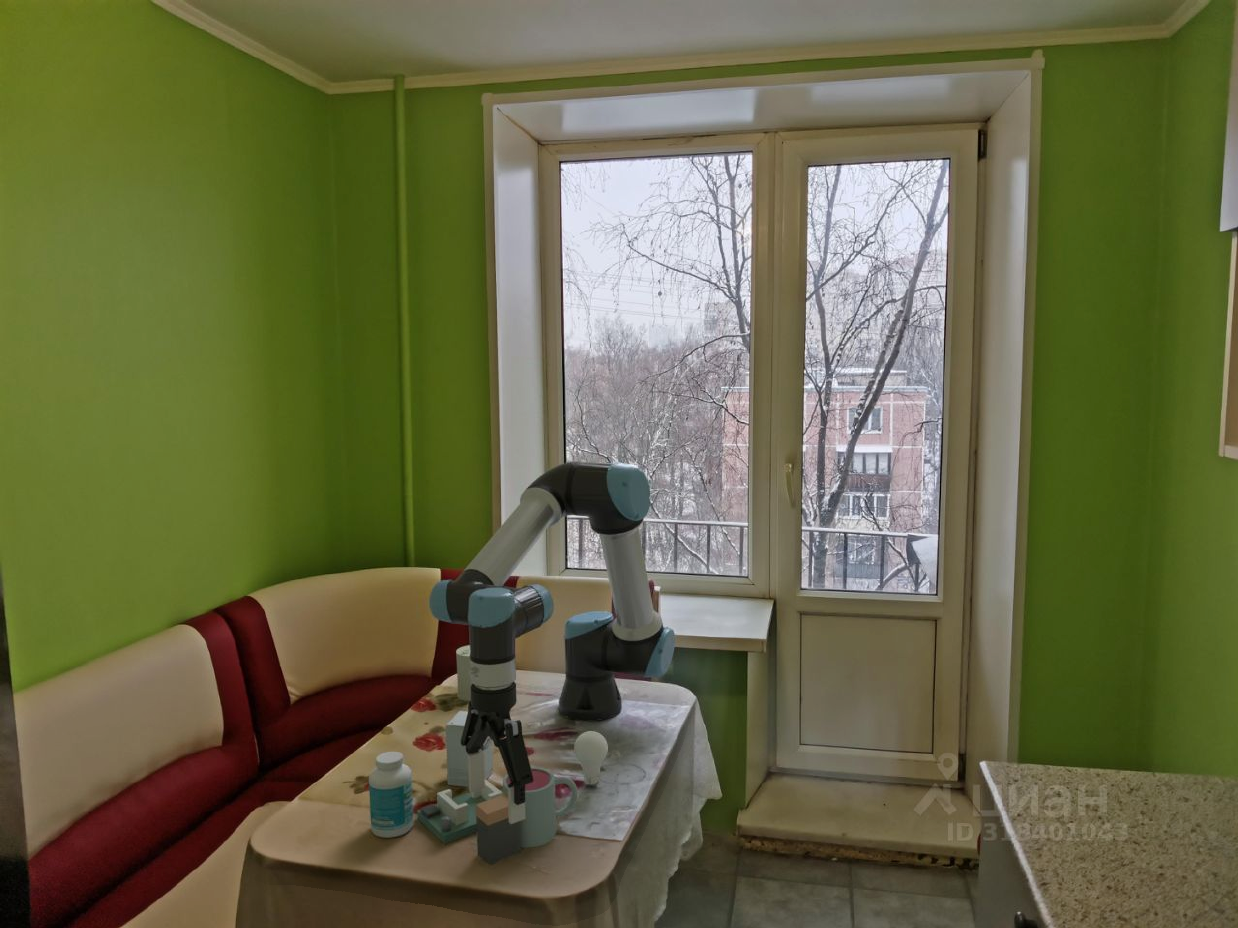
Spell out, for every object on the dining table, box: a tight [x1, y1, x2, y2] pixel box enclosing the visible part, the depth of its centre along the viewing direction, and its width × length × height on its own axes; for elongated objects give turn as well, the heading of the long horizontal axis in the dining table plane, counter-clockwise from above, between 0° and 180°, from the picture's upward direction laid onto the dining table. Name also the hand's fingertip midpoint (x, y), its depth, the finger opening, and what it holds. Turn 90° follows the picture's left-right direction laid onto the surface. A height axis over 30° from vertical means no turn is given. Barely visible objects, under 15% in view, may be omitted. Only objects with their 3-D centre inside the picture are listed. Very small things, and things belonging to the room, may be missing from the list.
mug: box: [502, 766, 579, 848], centre depth 152 cm, size 14×9×10 cm
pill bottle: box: [368, 751, 414, 839], centre depth 153 cm, size 8×7×14 cm
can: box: [455, 644, 473, 702], centre depth 216 cm, size 9×9×12 cm
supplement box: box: [445, 710, 494, 788], centre depth 172 cm, size 7×7×13 cm
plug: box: [476, 793, 521, 866], centre depth 145 cm, size 6×4×9 cm, turn 128°
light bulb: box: [573, 730, 609, 787], centre depth 168 cm, size 7×7×11 cm
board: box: [416, 779, 503, 845], centre depth 157 cm, size 14×11×4 cm
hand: (496, 804), depth 144 cm, fingers open, 13 cm apart
